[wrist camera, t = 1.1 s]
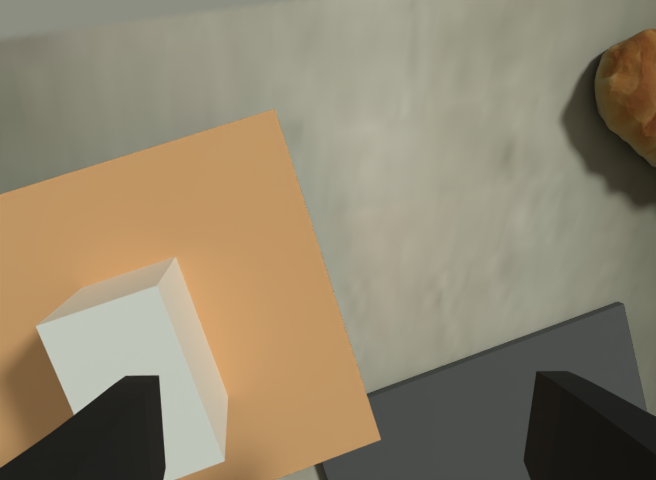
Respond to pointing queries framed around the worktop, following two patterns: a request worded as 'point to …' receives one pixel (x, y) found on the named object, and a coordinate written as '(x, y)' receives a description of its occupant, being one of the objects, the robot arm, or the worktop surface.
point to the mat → (487, 404)
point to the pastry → (630, 92)
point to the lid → (181, 306)
